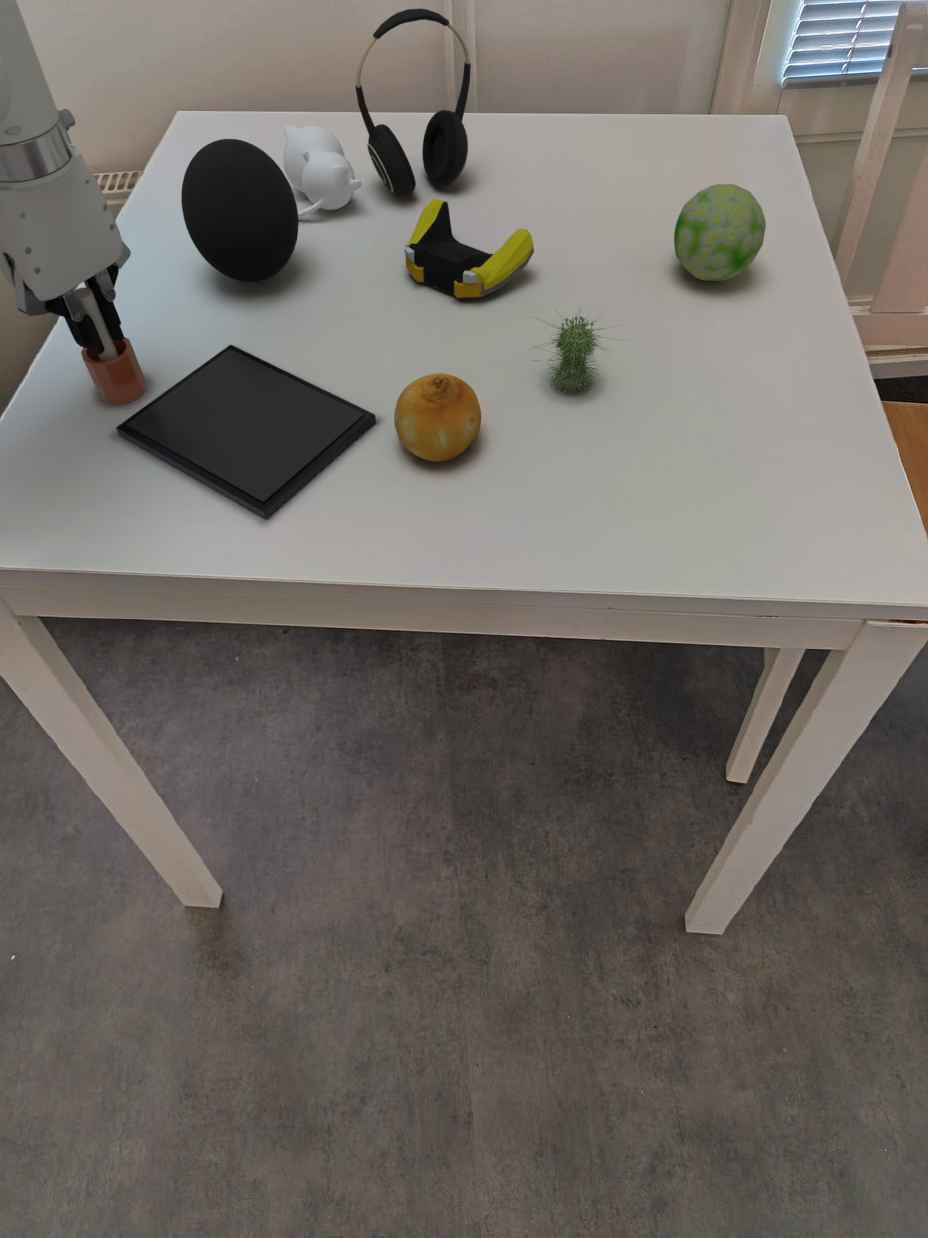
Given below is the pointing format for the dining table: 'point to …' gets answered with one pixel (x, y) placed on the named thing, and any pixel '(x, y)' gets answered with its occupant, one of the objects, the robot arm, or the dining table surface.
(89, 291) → the stylus
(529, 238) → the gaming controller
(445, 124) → the headphones
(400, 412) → the fruit
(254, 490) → the tablet
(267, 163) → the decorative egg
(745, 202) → the decorative ball
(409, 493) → the dining table surface
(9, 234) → the robot arm
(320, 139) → the cat figurine
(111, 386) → the pen cup
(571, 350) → the small spiny cactus
